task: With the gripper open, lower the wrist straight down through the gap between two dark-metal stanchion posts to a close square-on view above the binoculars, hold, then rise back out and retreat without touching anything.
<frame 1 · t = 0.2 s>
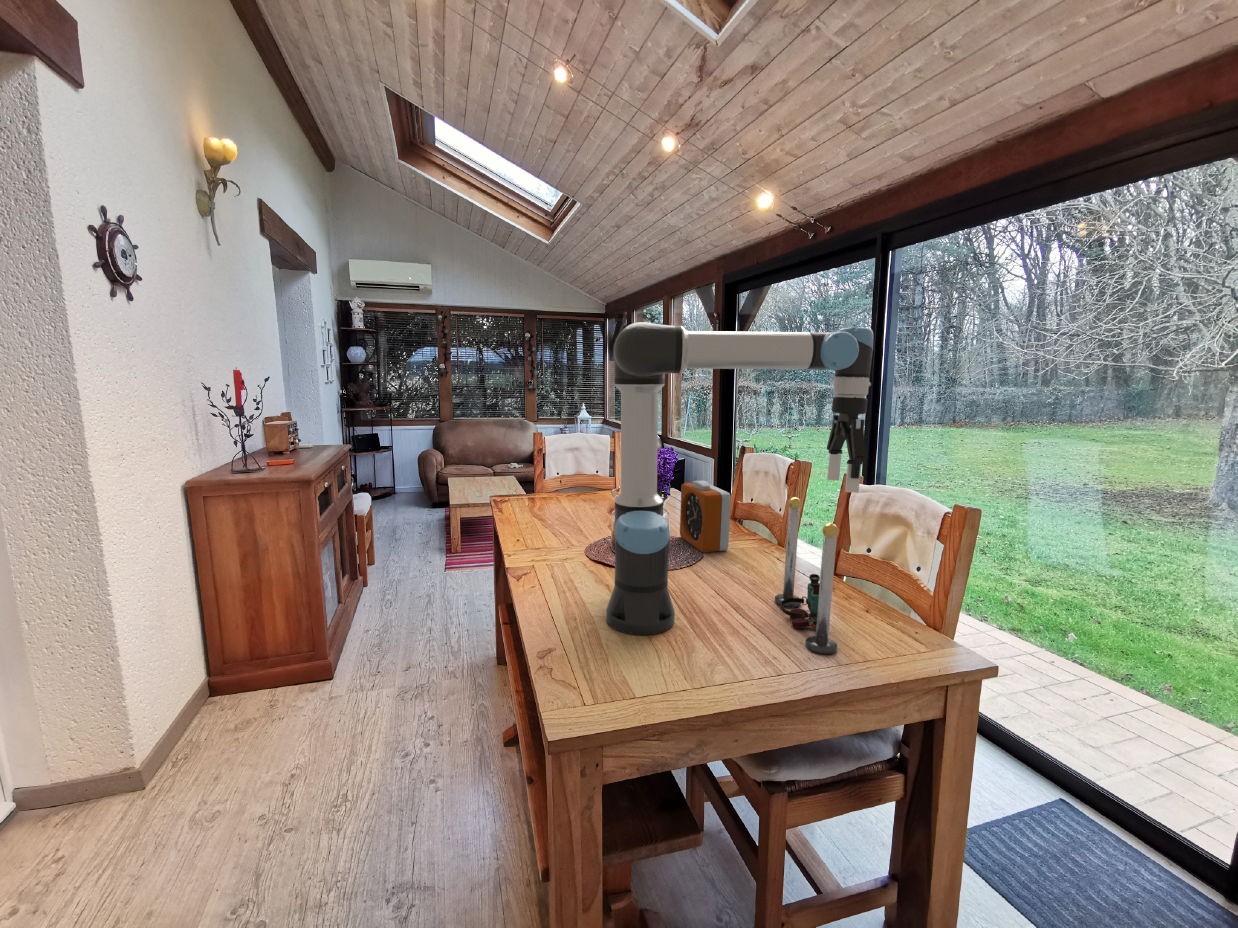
hand: (841, 485, 134), 28 cm above the table, fingers open, 13 cm apart
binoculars: (802, 624, 125), on the table
alarm clock: (702, 544, 180), on the table
post near: (820, 647, 114), on the table
post far: (787, 602, 136), on the table
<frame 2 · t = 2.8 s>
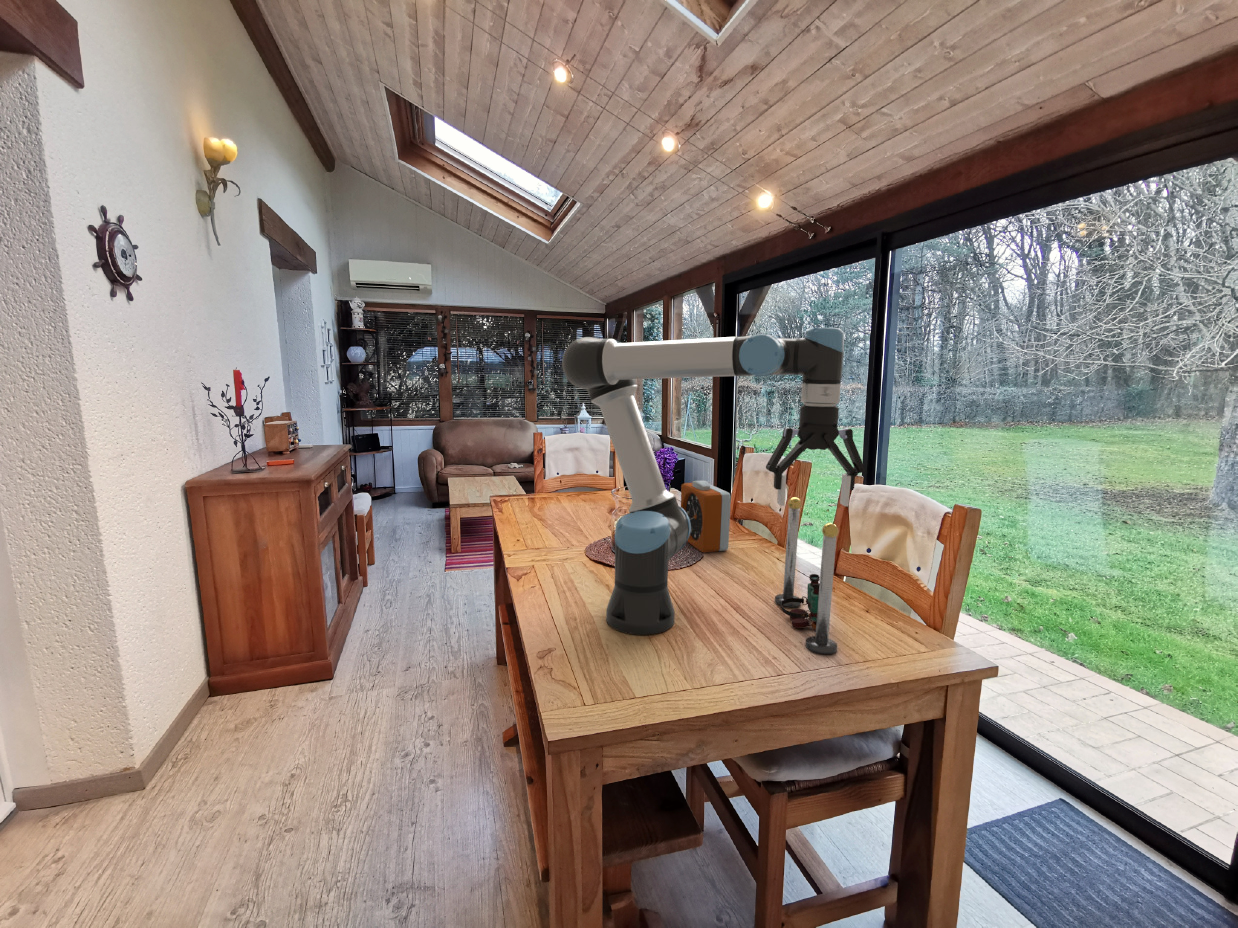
hand: (812, 504, 120), 27 cm above the table, fingers open, 13 cm apart
nothing on the table moved.
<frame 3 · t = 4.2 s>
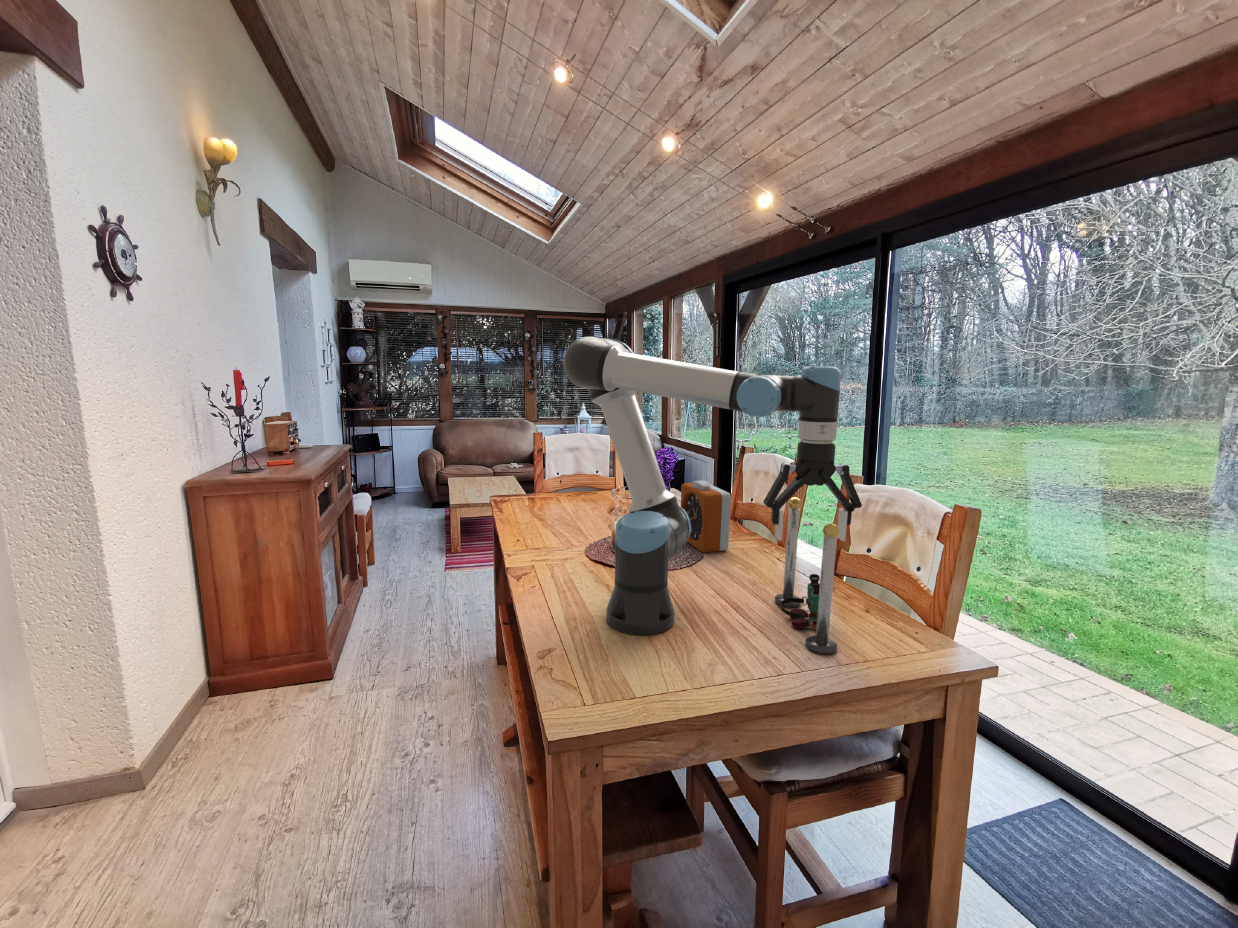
hand: (809, 539, 121), 19 cm above the table, fingers open, 13 cm apart
nothing on the table moved.
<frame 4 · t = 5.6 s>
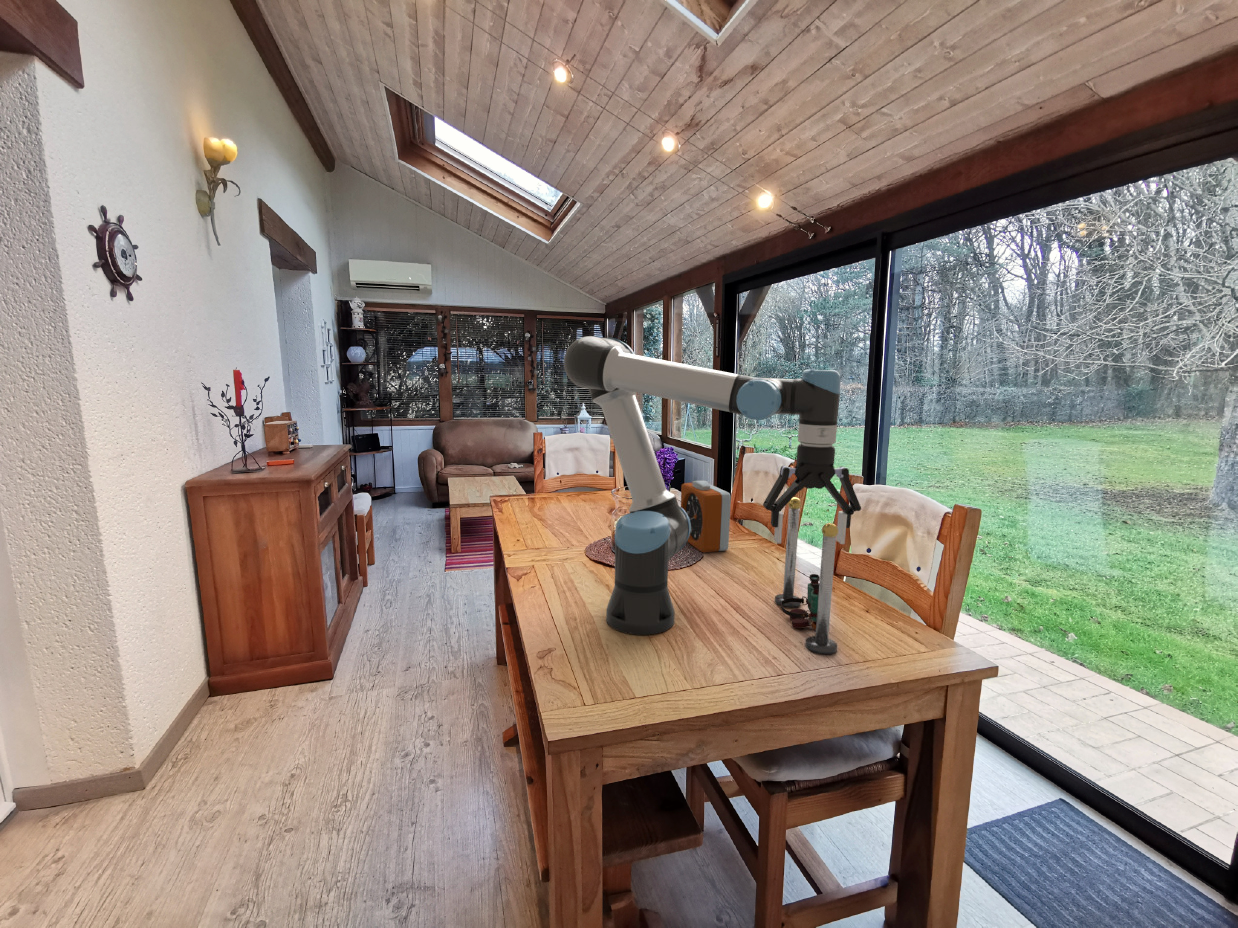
hand: (809, 542, 122), 19 cm above the table, fingers open, 13 cm apart
nothing on the table moved.
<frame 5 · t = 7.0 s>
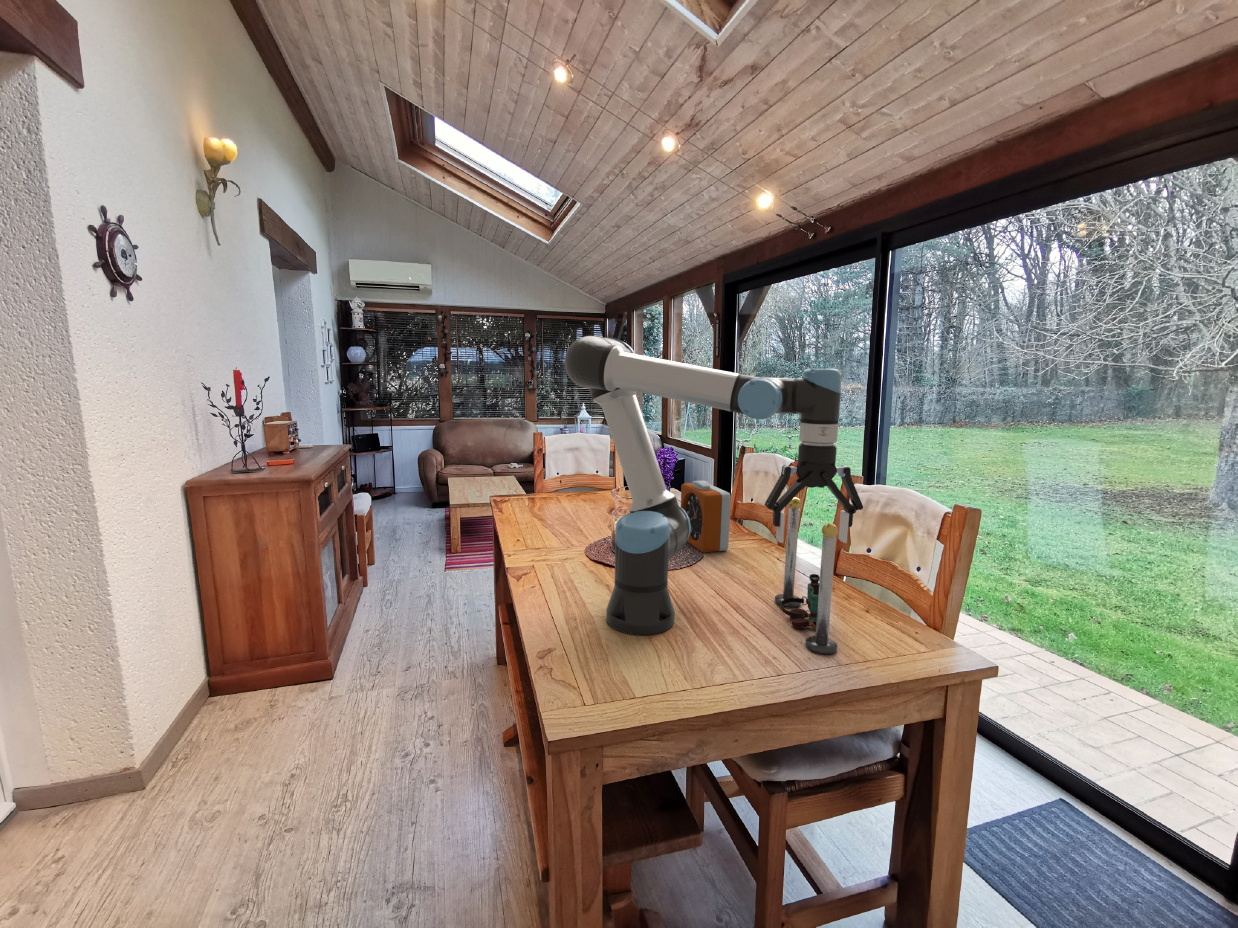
hand: (811, 541, 121), 19 cm above the table, fingers open, 13 cm apart
nothing on the table moved.
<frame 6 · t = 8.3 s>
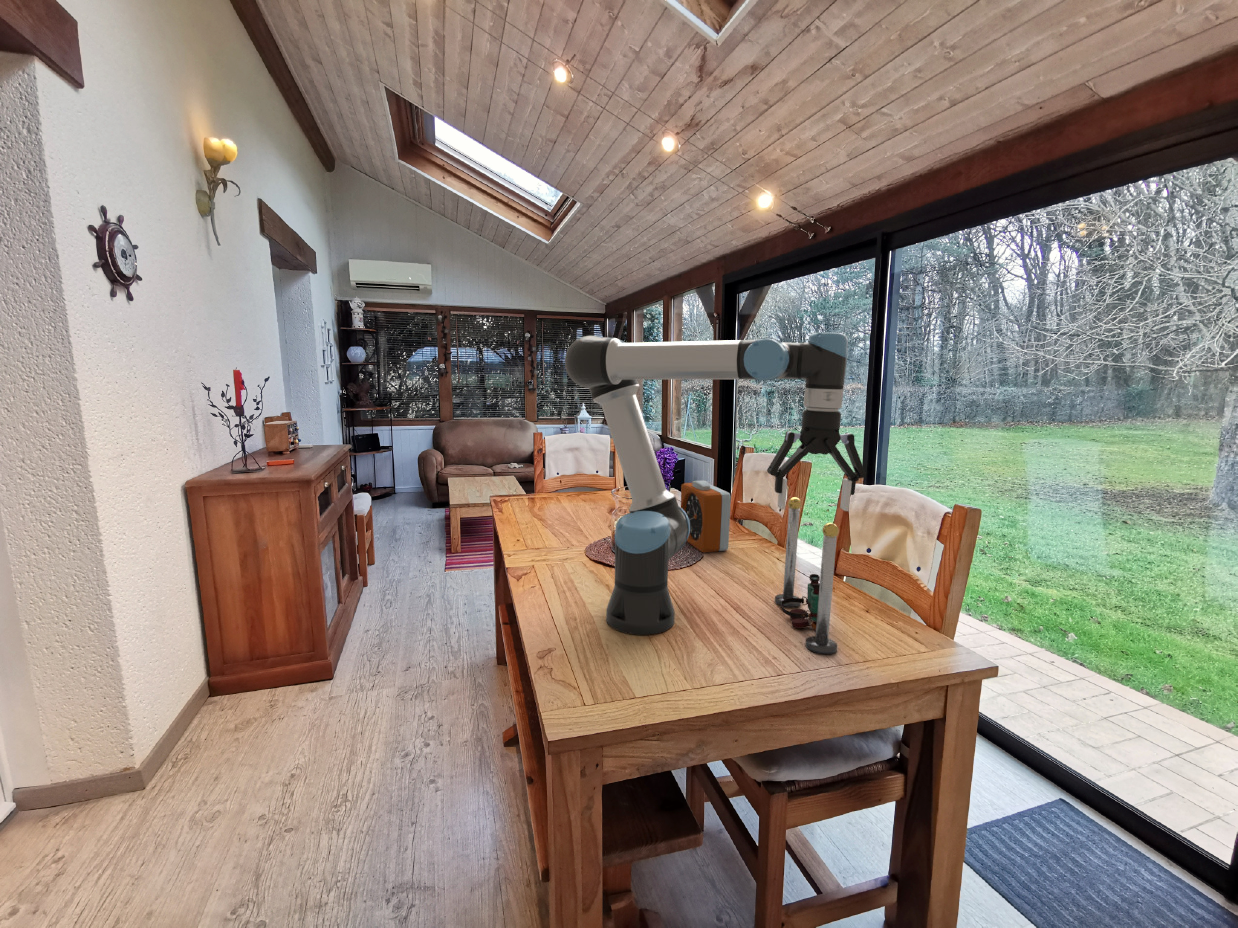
hand: (812, 508, 121), 26 cm above the table, fingers open, 13 cm apart
nothing on the table moved.
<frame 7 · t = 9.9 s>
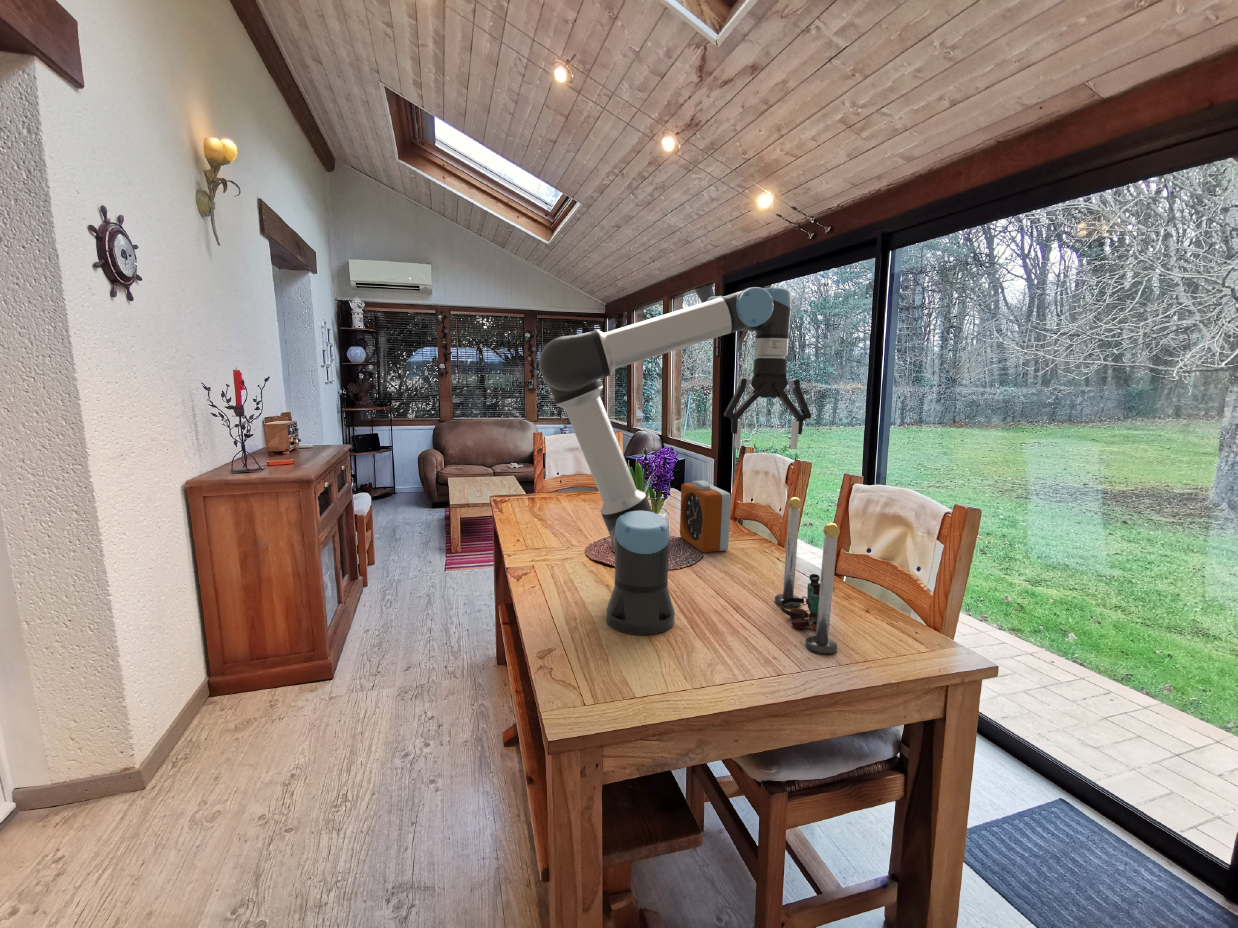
hand: (765, 447, 135), 37 cm above the table, fingers open, 13 cm apart
nothing on the table moved.
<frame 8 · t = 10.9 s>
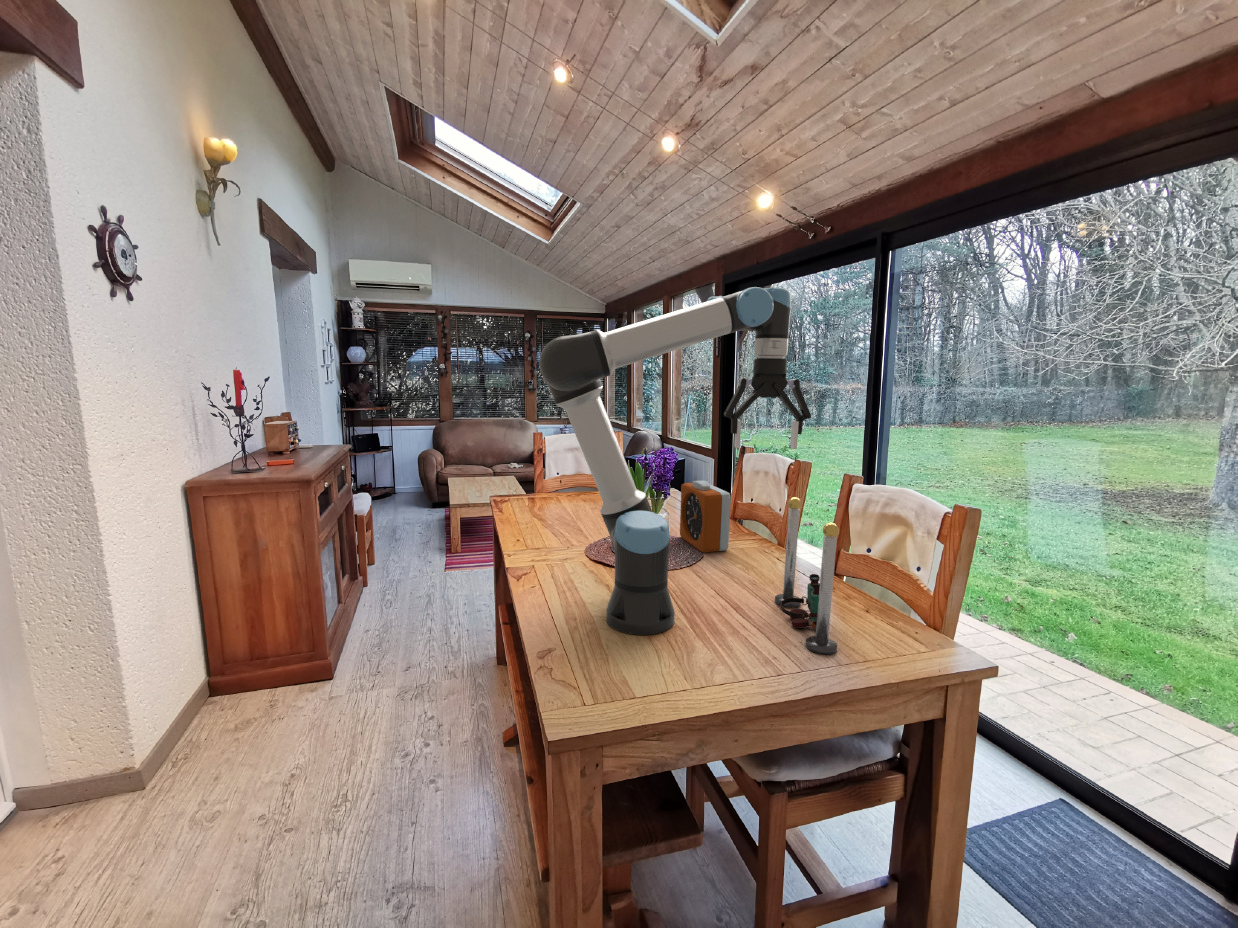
hand: (765, 447, 135), 37 cm above the table, fingers open, 13 cm apart
nothing on the table moved.
at the end: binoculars inside the target area (0.0 cm from its centre), on the table; post near moved 0.0 cm from its start; post far moved 0.0 cm from its start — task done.
